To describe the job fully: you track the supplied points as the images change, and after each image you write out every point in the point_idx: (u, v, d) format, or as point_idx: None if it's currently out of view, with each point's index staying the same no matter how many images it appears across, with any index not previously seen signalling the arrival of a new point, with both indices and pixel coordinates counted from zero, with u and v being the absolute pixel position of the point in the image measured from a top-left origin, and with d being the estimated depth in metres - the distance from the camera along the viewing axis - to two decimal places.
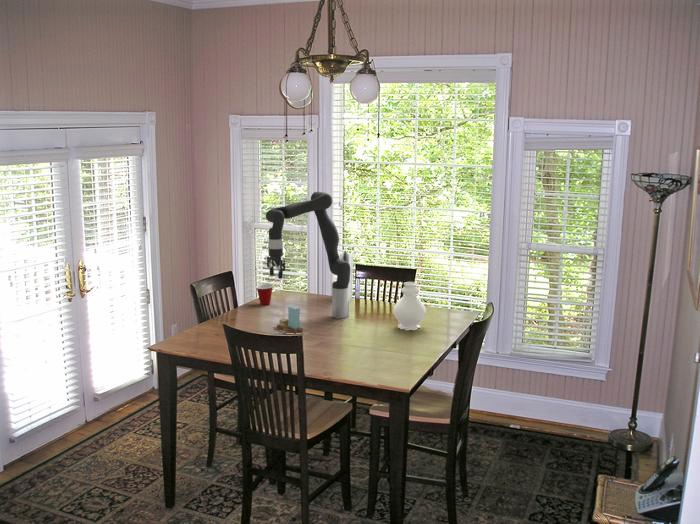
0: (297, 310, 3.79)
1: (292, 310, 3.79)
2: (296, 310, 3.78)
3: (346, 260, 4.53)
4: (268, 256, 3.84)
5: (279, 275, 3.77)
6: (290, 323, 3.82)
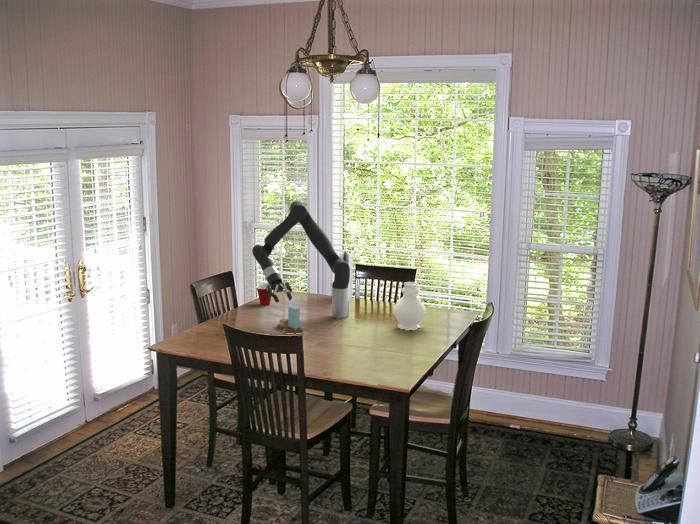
0: (297, 310, 3.79)
1: (292, 310, 3.79)
2: (296, 310, 3.78)
3: (346, 260, 4.53)
4: (285, 284, 3.95)
5: None
6: (290, 323, 3.82)
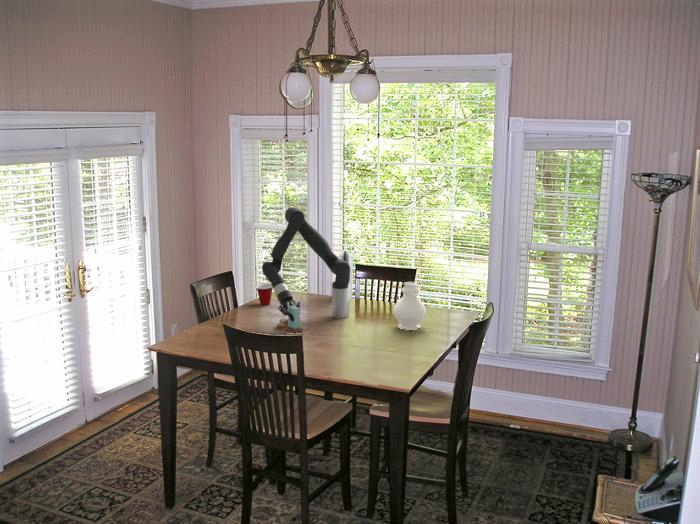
0: (298, 310, 3.78)
1: (292, 311, 3.79)
2: (296, 310, 3.78)
3: (346, 260, 4.53)
4: None
5: None
6: (290, 323, 3.82)
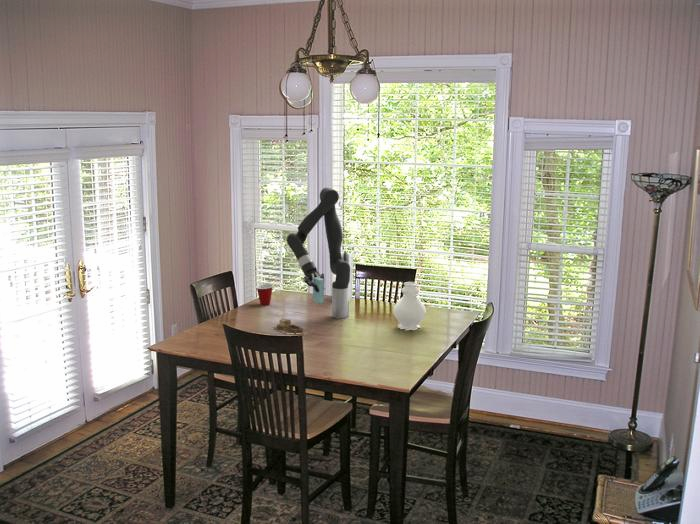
0: (322, 281, 3.82)
1: (317, 282, 3.83)
2: (321, 281, 3.82)
3: (346, 260, 4.53)
4: None
5: None
6: (315, 294, 3.86)
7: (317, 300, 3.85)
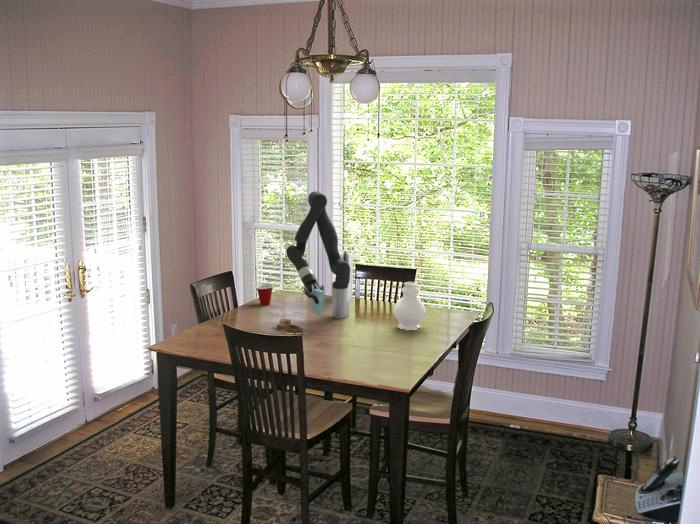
0: (322, 293, 3.83)
1: (316, 293, 3.84)
2: (321, 293, 3.83)
3: (346, 260, 4.53)
4: None
5: None
6: (314, 305, 3.87)
7: (317, 312, 3.86)
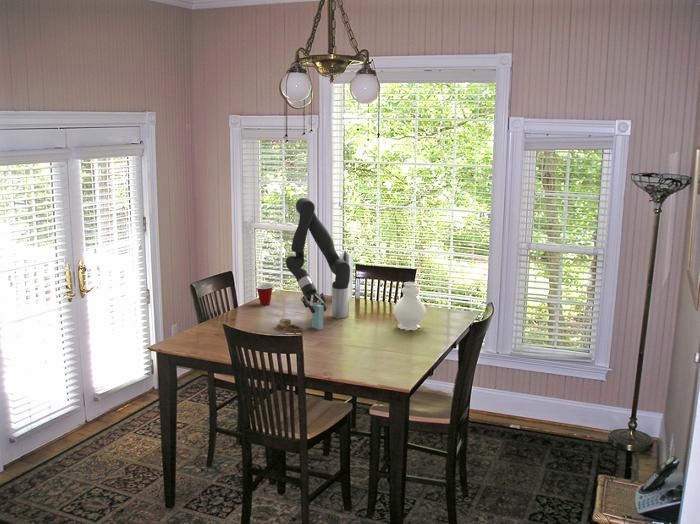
0: (321, 308, 3.85)
1: (316, 308, 3.86)
2: (320, 308, 3.85)
3: (346, 260, 4.53)
4: None
5: None
6: (314, 321, 3.89)
7: (316, 327, 3.88)
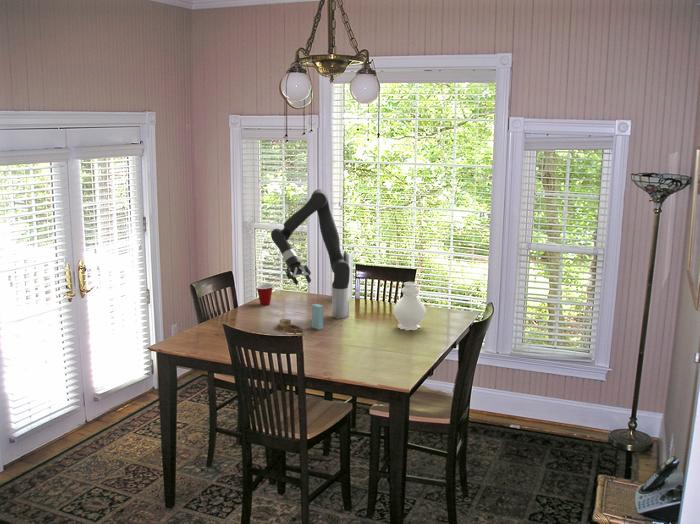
0: (321, 308, 3.85)
1: (315, 308, 3.86)
2: (320, 308, 3.85)
3: (346, 260, 4.53)
4: None
5: None
6: (314, 321, 3.89)
7: (316, 327, 3.88)
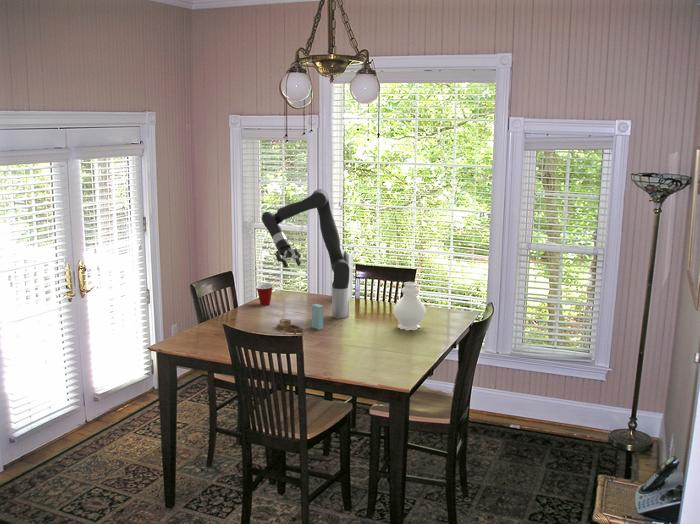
0: (321, 308, 3.85)
1: (315, 308, 3.86)
2: (320, 308, 3.85)
3: (346, 260, 4.53)
4: (294, 250, 4.02)
5: None
6: (314, 321, 3.89)
7: (316, 327, 3.88)
